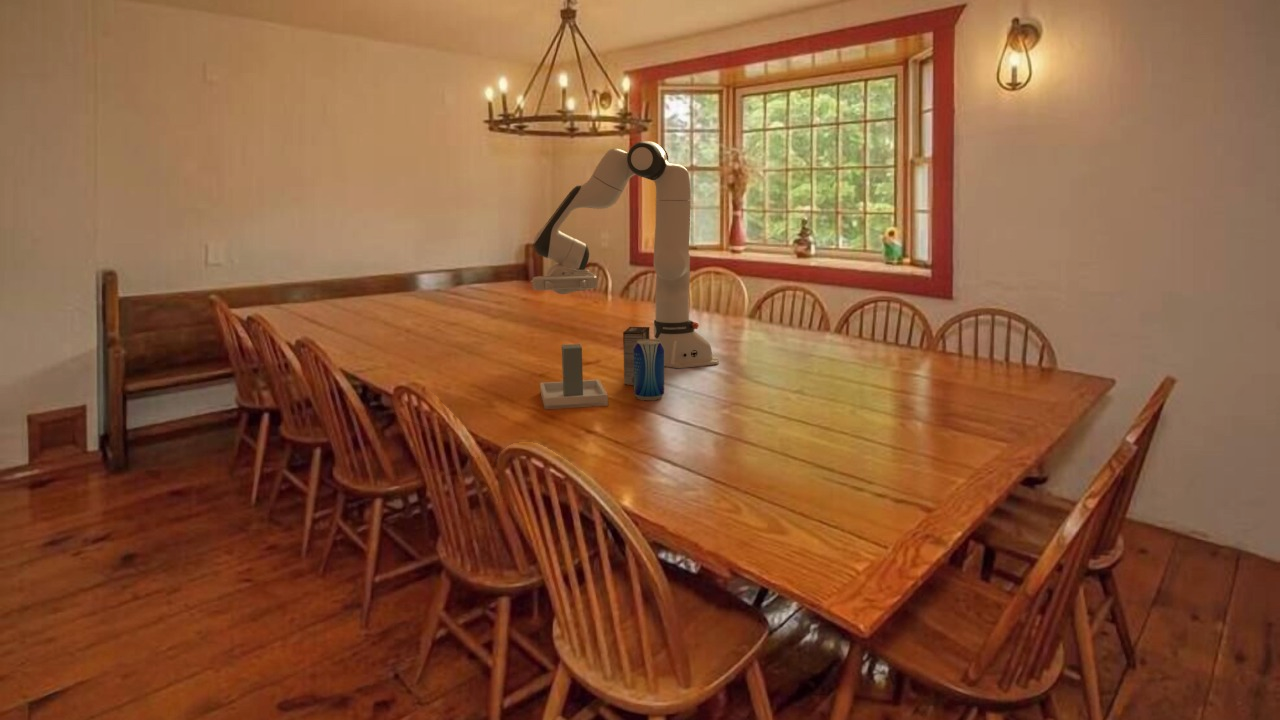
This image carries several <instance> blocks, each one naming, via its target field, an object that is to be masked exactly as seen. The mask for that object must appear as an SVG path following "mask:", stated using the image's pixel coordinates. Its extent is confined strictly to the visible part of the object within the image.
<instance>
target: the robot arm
mask: <svg viewBox="0 0 1280 720" xmlns="http://www.w3.org/2000/svg"><path fill="white" fill-rule="evenodd" d="M634 176H638V177H641V178H644V179H646V180H650V181H653V182H654V184H655V189H656V190H655V199H656V200H655V229H654V230H655V231H654V242H653V244H654V246H653V268H654V272H655V273H656V274H655V275H656V277H655V294H654V295H655V298H654V304H655V306H654V307H655V308H654V309H655V311H654V312H655V313H654V315H655V316H654V317H655V319H654V320H653V337H654V339H655V340H660V341H661V345H662V347H663V348H664V367H669V368H673V369H685V368H686V369H687V368H695V367H703V366H704V367H705V366H712V365H713V366H714V365H718V364H719V362H720V359H719V357H717V355H714V354H713V351H712V350H713V349H712V345H711V344H710V342H709V341H708V340H707V339H705V338H704V337H703V336H701V334H699V333H698V332H697V331H695V330H698V329H699V327H700V324H699V323H698V322H696V321H692V320H691V319H690V272H691V271H690V270H691V268H690V266H691V257H690V251H689V250H690V233H691V204H692V203H691V202H692V199H691V198H692V195H691V194H692V193H691V183H690V182H691V181H690V175H689V171H688V169H687V168H686V167H685V166H683V165H681V164H678V163H671V162H669V156H668V152H667V151H666V149H665V148H664V147H663V146H662V145H660V144H658V143H657V142H654V141H651V140H649V141H648V140H642V141H641V140H640V141H638V142H636V143H635V144H633V145H632V146H631V148H630V149H629V150H628V151H625V150H623V149H620V148H611V149H609V150H608V151H607V152H605V154H604V155H603V157H602V158H601V160H600V161H599V162H598V164H597V166H596V167H595V169H594V171H593V173H592V175H591V177H590V178H589V179H588V180H587V181H586V182H585V183H584V184H581V185H576V186H575V187H572V189H571V191H570V192H569V193H568V194H567V195H566V197H565V198H564V199H563V201H562V202H561V203H560V204H559V206H558V207H557V208H556V210H555V212H554V213H552V215H551V217H550V218H549V219H548V221H547V222H546V223H545V225H543V227H541V228H540V229H539V230H538V232H537V233H536V235H535V237H534V239H533V243H532V245H533V248H534V250H535V252H536V254H537V255H538V256H540V257H543V258H546V259H549V260H551V261H553V262H555V263H553V264H552V265H551V266H549V268H548V270H547V273H546V275H539V276H533V278H532V280H530V284H531V285H532V290H534V291H553V292H555V293H556V294H559V295H567V294H570V293H574V292H580V291H586V290H588V291H589V290H590V289H597V288H598V277H597V275H596V274H594V273H593V272H590V270H589V269H588V268H587V269H585V268H586V267H587V264H588V263H589V262H588V261H589V258H590V250H589V247H588V244H587V243H585V242H583V241H581V240H579V239H577V238H575V237H573V236H570V235H569V234H566V233H564V232H562V231H561V230H560V227H561V226H562V225H563V223H564V222H565V221H566V219H567V218H568V217H569V216H570V214H571V213H572V212H573V211H574V210H576V209H579V208H587V209H594V210H595V209H596V210H599V209H600V210H602V209H608V208H611V207H613V206H614V205H615V204H616V203H617V202H618V200H620V197H621V195H622V194H623V192H624V189H625V188H626V186H627V184H628V182H629V180H630V179H631V178H632V177H634Z"/></svg>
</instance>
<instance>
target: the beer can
mask: <svg viewBox="0 0 1280 720" xmlns="http://www.w3.org/2000/svg"><path fill="white" fill-rule="evenodd" d="M633 394H634V395H635V396H636V397H635V398H636V399H638V400H640V401H644V400H653V401H658V400H661V399H662V398H663V395H664V394H665V366H664V348H663V347H662V345H661V341H660V340H655V338H654V339H653V338H652V339H651V338H650V339H643V340H638V341H637V345H636V346H635V348H634V385H633ZM660 398H661V399H660ZM657 399H658V400H657Z"/></svg>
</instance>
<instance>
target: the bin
mask: <svg viewBox="0 0 1280 720" xmlns="http://www.w3.org/2000/svg"><path fill="white" fill-rule="evenodd" d="M539 387H540V388H539V389H540V395H541V400H542V403H543V407H544V408H543V409H544V410H546V411H547V410H560V409H576V408H589V407H590V408H591V406H594V407H604V406H605V407H606V406H609V398H608V397H609V395H608V393H607V391H606V389H605V388H604V385H602V382H601V380H600V379H599V378H598V379H587V380H586V379H583V395H582V396H565V397H564V394H563V381H549V382H540V383H539Z"/></svg>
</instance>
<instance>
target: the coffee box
mask: <svg viewBox="0 0 1280 720" xmlns="http://www.w3.org/2000/svg"><path fill="white" fill-rule="evenodd" d="M650 329H651V327H650V326H629V327H627V328H626V329H625V330H624V331H623V332H622V334H623V337H622V338H623V339H622V341H623V342H622V343H623V384H624V385H625V384H627V386H634V348H635V346H636V345H637V341H638V340H643V339H651V338H650Z"/></svg>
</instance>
